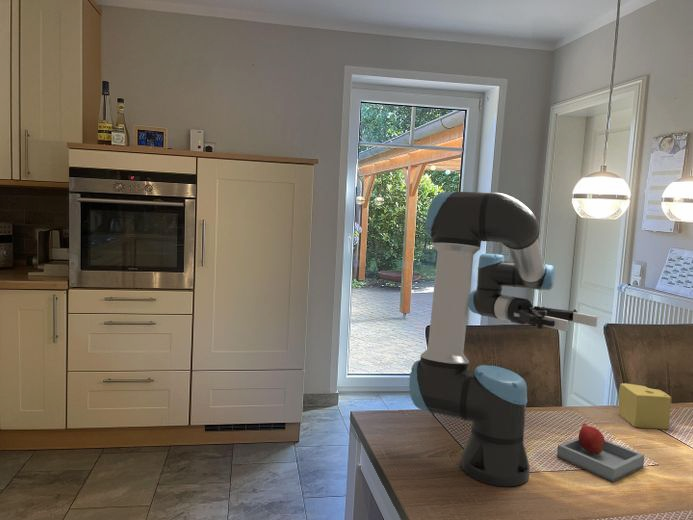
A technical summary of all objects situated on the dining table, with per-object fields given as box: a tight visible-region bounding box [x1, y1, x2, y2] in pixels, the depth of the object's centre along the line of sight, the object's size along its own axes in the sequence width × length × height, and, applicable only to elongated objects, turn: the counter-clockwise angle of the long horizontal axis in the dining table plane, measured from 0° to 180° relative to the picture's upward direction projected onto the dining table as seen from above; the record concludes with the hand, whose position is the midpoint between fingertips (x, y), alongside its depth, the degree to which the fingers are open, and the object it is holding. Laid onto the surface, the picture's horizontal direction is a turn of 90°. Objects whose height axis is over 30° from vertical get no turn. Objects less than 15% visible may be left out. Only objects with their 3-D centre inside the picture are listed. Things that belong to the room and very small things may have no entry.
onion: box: [578, 423, 606, 454], centre depth 127 cm, size 6×6×8 cm
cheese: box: [617, 382, 672, 430], centre depth 151 cm, size 10×11×10 cm
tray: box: [556, 436, 645, 483], centre depth 124 cm, size 14×14×3 cm
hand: (582, 323), depth 132 cm, fingers open, 13 cm apart
